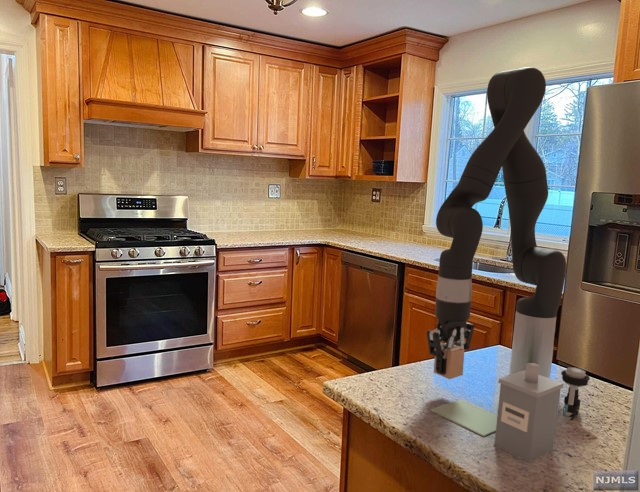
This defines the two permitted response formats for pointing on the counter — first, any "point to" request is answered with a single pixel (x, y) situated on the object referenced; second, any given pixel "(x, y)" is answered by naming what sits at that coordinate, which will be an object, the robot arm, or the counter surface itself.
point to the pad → (468, 416)
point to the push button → (573, 390)
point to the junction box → (527, 413)
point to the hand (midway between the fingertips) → (448, 370)
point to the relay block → (453, 362)
